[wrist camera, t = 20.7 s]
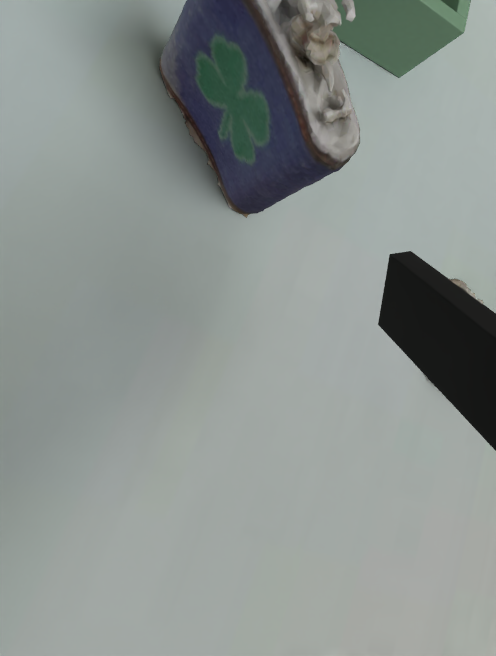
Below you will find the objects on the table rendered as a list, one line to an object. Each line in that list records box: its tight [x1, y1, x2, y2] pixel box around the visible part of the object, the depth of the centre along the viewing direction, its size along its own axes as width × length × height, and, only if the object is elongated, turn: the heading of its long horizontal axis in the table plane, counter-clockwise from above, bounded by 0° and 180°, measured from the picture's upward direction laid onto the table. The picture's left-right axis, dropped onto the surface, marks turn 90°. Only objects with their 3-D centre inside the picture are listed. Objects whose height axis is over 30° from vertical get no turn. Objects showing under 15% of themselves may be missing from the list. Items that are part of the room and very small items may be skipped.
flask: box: [159, 0, 360, 218], centre depth 20 cm, size 9×3×11 cm, turn 30°
